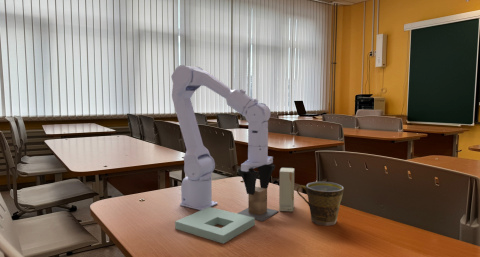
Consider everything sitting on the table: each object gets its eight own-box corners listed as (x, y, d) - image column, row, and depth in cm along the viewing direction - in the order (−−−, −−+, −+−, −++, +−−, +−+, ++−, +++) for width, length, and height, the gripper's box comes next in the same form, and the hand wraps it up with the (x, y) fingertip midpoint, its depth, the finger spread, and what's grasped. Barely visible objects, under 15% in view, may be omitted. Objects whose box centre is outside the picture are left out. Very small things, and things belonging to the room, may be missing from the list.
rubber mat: (236, 214, 101) (236, 213, 100) (253, 206, 108) (253, 205, 108) (262, 221, 95) (263, 219, 95) (278, 212, 103) (278, 210, 103)
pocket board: (175, 228, 90) (175, 221, 90) (209, 213, 102) (209, 206, 102) (223, 243, 81) (223, 235, 81) (254, 224, 93) (254, 217, 93)
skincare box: (293, 212, 103) (293, 172, 101) (278, 211, 103) (279, 171, 102) (294, 205, 109) (294, 167, 108) (280, 204, 110) (280, 167, 108)
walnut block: (248, 212, 101) (248, 189, 100) (255, 209, 104) (255, 186, 104) (260, 215, 99) (260, 191, 98) (267, 211, 102) (267, 188, 101)
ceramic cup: (345, 218, 97) (346, 184, 96) (338, 231, 89) (339, 193, 88) (301, 211, 104) (302, 178, 102) (290, 222, 95) (291, 187, 94)
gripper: (256, 150, 91) (255, 199, 93) (281, 143, 103) (281, 187, 105) (234, 147, 95) (234, 195, 97) (261, 141, 107) (261, 183, 109)
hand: (257, 190), depth 101 cm, fingers open, 7 cm apart
